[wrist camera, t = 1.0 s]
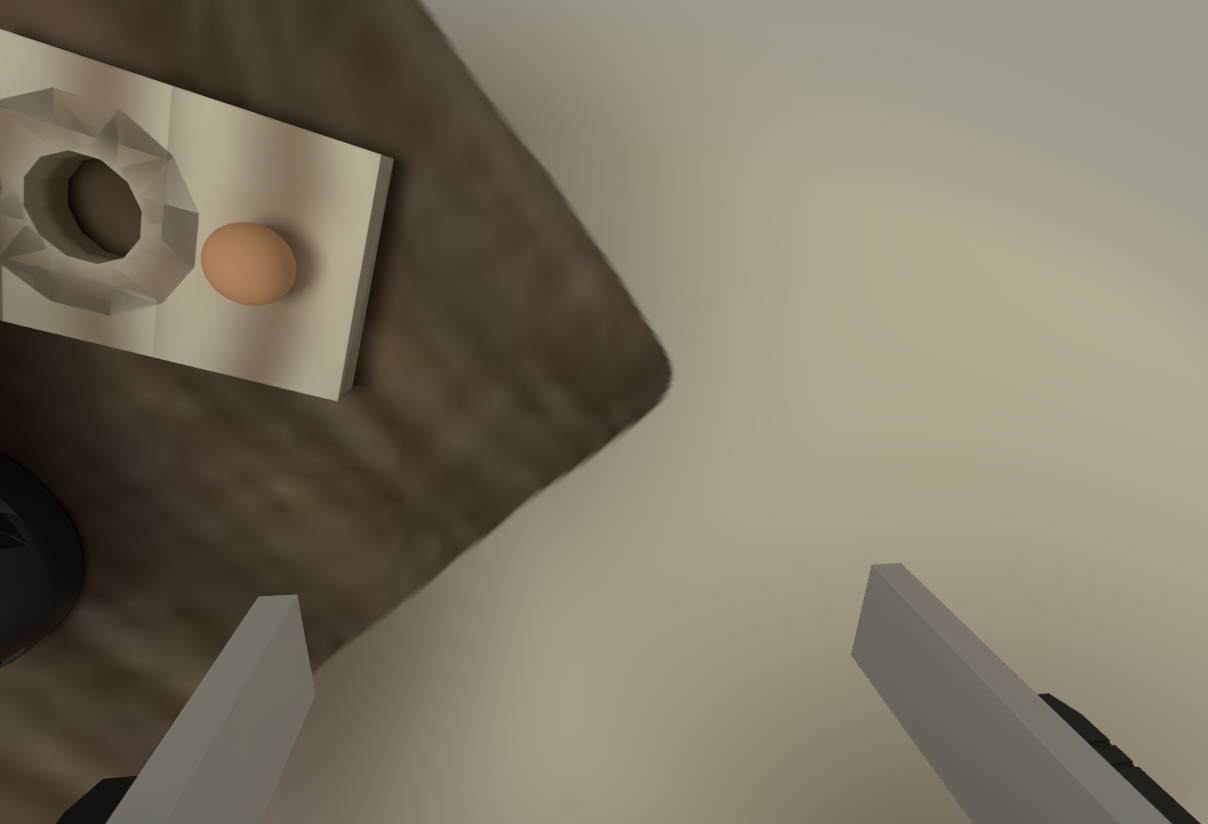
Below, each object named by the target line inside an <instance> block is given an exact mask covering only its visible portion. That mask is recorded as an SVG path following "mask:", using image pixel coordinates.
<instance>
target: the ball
mask: <svg viewBox="0 0 1208 824" xmlns="http://www.w3.org/2000/svg"><path fill="white" fill-rule="evenodd" d="M201 266H202V269H203V272H204V275H205V277H206V279H207V280H208V282H209V283H210V285H211V286H212V287H213V288H214V289H215V290H216V291H217V292H218V293H220V294H221V295H222V296H224V297H225V298H227V299H229V300H231V301H233V302H236V303H239V304H243V305H250V306H260V305H266V304H270V303H273V302H275V301H277V300H279V299H280V298H282V297H283V296H284V295H285V294H286V293H287V292H288V291H289V290H290V289H291V287H292V285H293V283H294V280H295V276H296V262H295V258H294V255H293V253H292V251H291V249H290V247H289V246H288V244H287V243H286V242H285V241H284V240H283V239H282V238H281V237H280V236H279V235H278V234H276V233H275V232H274V231H272V230H270V229H268V228H266V227H264V226H261V225H259V224H255V223H249V222H236V223H230V224H227V225H224V226H222V227H220V228H218V229H217V230H215V231H214V232H213V233H211V234H210V235H209V237H208V238H207V240H206V241H205V243H204V245H203V248H202V252H201Z"/></svg>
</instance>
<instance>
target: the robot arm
mask: <svg viewBox="0 0 1208 824" xmlns="http://www.w3.org/2000/svg"><path fill="white" fill-rule="evenodd" d="M82 581H83V556H82V551H81V546H80V543H79V540H78V537H77V535H76V532H75V530H74V528H73V526H72V524H71V522H70V520H69V518H68V517H67V515H66V513H65V512H64V510H63V509H62V507H61V506H60V505H59V503H58V502H57V501H56V499H55V498H54V497H53V496H52V495H51V494H50V492H49V491H48V490H47V489H46V488H45V487H44V486H43V485H42V484H41V483H40V482H39V481H38V480H37V479H36V478H34V477H33V476H32V475H31V474H30V473H28V472H27V471H26V470H25V469H23V468H22V467H21V466H19V465H18V464H17V463H15V462H14V461H12V460H11V459H9V458H8V457H6V456H5V455H3V454H1V453H0V668H2V667H4V666H6V665H7V664H9V663H11V662H13V661H14V660H16V659H17V658H19V657H20V656H22V655H23V654H25V653H26V652H27V651H29V650H30V649H31V648H32V647H34V646H35V645H36V644H37V643H38V642H39V641H40V640H41V639H43V638H44V637H45V636H46V635H47V634H48V633H49V632H51V631H52V630H53V629H54V628H55V627H56V626H57V625H58V624H59V623H61V622H62V621H63V619H64V618H65V617H66V616H67V615H68V614H69V612H70V611H71V609H72V608H73V606H74V604H75V602H76V600H77V598H78V596H79V593H80V590H81V586H82ZM851 655H852V657H853V658H854V660H855V661H856V662H857V664H858V665H859V667H860V668H861V669H862V671H863V672H864V674H865V675H866V676H867V678H868V679H869V681H870V682H871V683H872V685H873V686H874V687H875V689H876V690H877V692H878V693H879V694H880V696H881V697H882V699H883V700H884V701H885V703H886V704H887V705H888V707H889V708H890V710H891V711H892V712H893V714H894V715H895V717H896V718H897V719H898V721H899V722H900V724H901V725H902V726H903V728H904V729H905V731H906V732H907V733H908V735H909V736H910V737H911V739H912V740H913V742H914V743H915V744H916V746H917V747H918V748H919V750H920V751H921V753H922V754H923V755H924V757H925V758H926V759H927V761H928V762H929V764H930V765H931V767H932V768H933V769H934V771H935V772H936V774H937V775H938V776H939V778H940V779H941V780H942V782H943V783H944V785H945V786H946V787H947V789H948V790H949V792H950V793H951V794H952V796H953V797H954V798H955V800H956V801H957V803H958V804H959V805H960V807H961V808H962V809H963V811H964V812H965V814H966V815H967V817H968V818H969V819H970V821H971V822H972V824H1200V823H1199V822H1198V821H1197V820H1196V819H1195V818H1194V817H1193V816H1192V815H1191V814H1189V813H1188V812H1187V811H1186V810H1185V809H1184V808H1183V807H1182V806H1180V804H1178V803H1177V802H1176V801H1175V800H1174V799H1173V798H1172V797H1171V796H1170V795H1169V794H1168V793H1167V792H1165V791H1164V790H1163V789H1162V788H1161V787H1160V786H1159V785H1158V784H1157V783H1156V782H1155V781H1153V780H1152V779H1151V778H1150V777H1149V776H1148V775H1147V774H1146V773H1145V772H1144V771H1142V770H1141V768H1139V767H1135V766H1134V765H1133V761H1132V760H1131V759H1130V758H1129V757H1127V756H1126V755H1125V754H1124V753H1123V752H1122V751H1121V750H1120V749H1119V748H1118V747H1117V746H1115V745H1111V744H1110V742H1109V741H1110V740H1109V739H1108V738H1107V737H1106V736H1105V735H1104V734H1102V733H1101V732H1100V731H1099V730H1098V729H1097V728H1096V727H1095V726H1094V725H1093V724H1091V723H1090V722H1089V721H1088V720H1087V719H1086V718H1085V717H1084V716H1083V715H1082V714H1080V713H1079V712H1077V711H1076V710H1074V709H1072V708H1071V707H1069V706H1068V705H1066V704H1065V703H1063V702H1061V701H1060V700H1058V699H1057V698H1055V697H1054V696H1052V695H1050V694H1049V693H1047V694H1036V693H1035V692H1034V691H1033V690H1032V689H1031V688H1030V687H1029V686H1028V685H1027V684H1026V683H1025V682H1024V681H1023V680H1022V679H1021V678H1019V676H1018V675H1017V674H1015V673H1014V672H1013V671H1012V670H1011V669H1010V668H1009V667H1008V666H1007V665H1006V664H1005V663H1004V662H1003V661H1002V660H1001V659H1000V658H999V657H998V656H997V655H996V654H995V653H994V652H993V651H992V650H990V649H989V648H988V647H987V646H986V645H985V644H984V643H983V642H982V641H981V640H980V639H979V638H978V637H977V636H976V635H975V634H974V633H973V632H972V631H971V630H970V629H969V628H968V627H966V625H964V624H963V623H962V622H961V621H960V620H959V619H958V618H957V617H956V616H955V615H954V614H953V613H952V612H951V611H950V610H949V609H948V608H947V607H946V606H945V605H944V604H943V603H942V602H941V601H939V600H938V599H937V598H936V597H935V596H934V595H933V594H932V593H931V592H930V591H929V590H928V589H927V588H926V587H925V586H924V585H923V584H922V583H921V582H920V581H918V579H917V578H915V576H914V575H912V574H911V573H910V572H909V571H908V570H907V569H906V568H905V567H904V566H903V565H902V564H901V563H898V564H879V565H878V564H877V565H872V566H871V570H870V575H869V579H868V583H867V588H866V592H865V597H864V601H863V605H862V610H861V614H860V618H859V623H858V627H857V631H856V636H855V640H854V644H853V649H852V653H851ZM314 697H315V690H314V685H313V679H312V674H311V668H310V663H309V657H308V651H307V646H306V640H305V635H304V629H303V624H302V618H301V613H300V607H299V602H298V596H297V595H281V596H262V597H258V598H257V600H256V601H255V603H254V604H253V606H252V607H251V609H250V610H249V612H248V613H247V615H246V616H245V618H244V619H243V621H242V622H241V624H240V625H239V626H238V628H237V629H236V631H235V632H234V634H233V635H232V637H231V638H230V640H229V641H228V643H227V644H226V646H225V647H224V649H223V650H222V652H221V653H220V655H219V656H218V658H217V659H216V661H215V662H214V664H213V665H212V667H211V668H210V670H209V671H208V673H207V674H206V676H205V677H204V679H203V680H202V681H201V683H200V684H199V686H198V687H197V689H196V690H195V692H194V693H193V695H192V696H191V698H190V699H189V701H188V702H187V704H186V705H185V707H184V708H183V710H182V711H181V713H180V714H179V716H178V717H177V719H176V720H175V722H174V723H173V725H172V726H171V728H170V729H169V731H168V732H167V734H166V735H165V736H164V738H163V739H162V741H161V742H160V744H159V745H158V747H157V748H156V750H155V751H154V753H153V754H152V756H151V757H150V759H149V760H148V762H147V763H146V765H145V766H144V768H143V769H142V771H141V772H140V774H139V775H138V776H130V777H119V778H108V779H102V780H101V781H100V782H99V783H98V784H97V785H96V786H94V787H93V788H92V789H91V790H90V791H89V792H88V793H86V794H85V795H84V796H83V797H82V798H81V799H79V800H78V801H77V802H76V803H75V804H74V805H73V806H71V807H70V808H69V809H68V810H67V811H66V812H64V814H63V815H62V816H61V818H60V819H59V820H58V821H57V823H56V824H261V822H262V819H263V817H264V814H265V812H266V810H267V807H268V805H269V803H270V800H271V798H272V795H273V793H274V791H275V789H276V786H277V784H278V782H279V779H280V777H281V774H282V772H283V770H284V767H285V765H286V763H287V760H288V758H289V756H290V753H291V751H292V748H293V746H294V744H295V741H296V739H297V736H298V734H299V732H300V729H301V727H302V725H303V722H304V720H305V718H306V715H307V713H308V711H309V708H310V706H311V704H312V701H313V699H314Z"/></svg>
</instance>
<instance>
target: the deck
mask: <svg viewBox="0 0 1208 824" xmlns="http://www.w3.org/2000/svg"><path fill="white" fill-rule="evenodd" d="M94 158H97V159H100V160H102V161H103V162H104V163H106V164H107V165H108V166H109V167H110V168H111V169H113V170H114V171H115V172H116V173H117V174H119V175H120V176H121V177H122V178H123V179H124V180H126V181H127V182H128V184H129V186H130V188H131V190H132V192H133V194H134V196H135V198H136V200H137V202H138V204H139V206H140V208H141V210H142V220H141V237H140V240H139V241H138V242H137V243H136V244H135V246H134V247H133V248H132V249H131V250H130V251H129V253H128V254H127V255H126V256H121V255H117V254H114V253H110V252H106V251H105V250H104V249H102V248H101V247H100V246H99V245H97V244H96V243H95V242H94V241H92V240H91V239H90V238H89V237H87V236H86V235H85V234H83V233H82V231H81V229H80V228H79V226H78V224H77V222H76V220H75V218H74V216H73V214H72V213H71V211H70V209H69V207H68V187H69V179H70V177H71V176H72V175H73V174H74V173H75V171H76V170H77V169H78V168H79V166H80V165H81V164H82V163H83V161H85V160H90V159H94ZM393 162H394V159H393V158H390V157H387V156H384V155H381V154H378V153H375V152H372V151H369V150H366V149H363V148H360V147H357V146H354V145H351V144H348V143H345V142H342V141H339V140H336V139H332V138H329V137H326V136H323V135H320V134H317V133H314V132H311V131H308V130H305V129H302V128H299V127H296V126H293V125H290V124H287V123H284V122H281V121H278V120H275V119H272V118H269V117H266V116H263V115H260V114H257V113H254V112H251V111H247V110H244V109H241V108H238V107H235V106H232V105H229V104H226V103H223V102H220V101H217V100H214V99H211V98H208V97H205V96H202V95H199V94H196V93H193V92H190V91H187V90H184V89H181V88H178V87H175V86H172V85H169V84H166V83H163V82H159V81H156V80H153V79H150V78H147V77H144V76H141V75H138V74H135V73H132V72H129V71H126V70H123V69H120V68H117V67H114V66H111V65H108V64H105V63H102V62H99V61H96V60H93V59H90V58H87V57H84V56H81V55H78V54H75V53H71V52H68V51H65V50H62V49H59V48H56V47H53V46H50V45H47V44H44V43H41V42H38V41H35V40H32V39H29V38H26V37H23V36H20V35H17V34H14V33H11V32H8V31H5V30H2V29H0V321H5V322H9V323H13V324H17V325H21V326H25V327H30V328H34V329H38V330H42V331H46V332H50V333H55V334H59V335H63V336H67V337H71V338H75V339H80V340H84V341H88V342H92V343H96V344H100V345H105V346H109V347H113V348H117V349H121V350H126V351H130V352H134V353H138V354H142V355H146V356H151V357H155V358H159V359H163V360H167V361H171V362H176V363H180V364H184V365H188V366H192V367H196V368H201V369H205V370H209V371H213V372H217V373H221V374H226V375H230V376H234V377H238V378H242V379H246V380H251V381H255V382H259V383H263V384H267V385H271V386H276V387H280V388H284V389H288V390H292V391H296V392H301V393H305V394H309V395H313V396H317V397H322V398H326V399H330V400H334V401H338V400H339V399H340V398H341V397H342V396H343V395H344V394H345V393H346V392H347V391H348V390H349V389H350V388H351V387H352V385H353V380H354V374H355V369H356V364H357V358H358V353H359V347H360V342H361V336H362V331H363V326H364V320H365V315H366V309H367V304H368V298H369V293H370V287H371V282H372V277H373V271H374V266H375V260H376V255H377V249H378V244H379V238H380V233H381V228H382V222H383V217H384V211H385V206H386V200H387V195H388V189H389V184H390V179H391V173H392V168H393ZM236 222H249V223H255V224H259V225H261V226H264V227H266V228H268V229H270V230H272V231H274V232H275V233H276V234H278V235H279V236H280V237H281V238H282V239H283V240H284V241H285V242H286V243H287V244H288V246H289V247H290V249H291V251H292V253H293V255H294V258H295V262H296V276H295V280H294V283H293V285H292V287H291V289H290V290H289V291H288V292H287V293H286V294H285V295H284V296H283V297H282V298H280V299H279V300H277V301H275V302H273V303H270V304H266V305H260V306H250V305H243V304H239V303H236V302H233V301H231V300H229V299H227V298H225V297H224V296H222V295H221V294H220V293H218V292H217V291H216V290H215V289H214V288H213V287H212V286H211V285H210V283H209V282H208V280H207V279H206V277H205V275H204V272H203V269H202V266H201V252H202V248H203V245H204V243H205V241H206V240H207V238H208V237H209V235H210V234H211V233H213V232H214V231H215V230H217V229H218V228H220V227H222V226H224V225H227V224H230V223H236Z"/></svg>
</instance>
